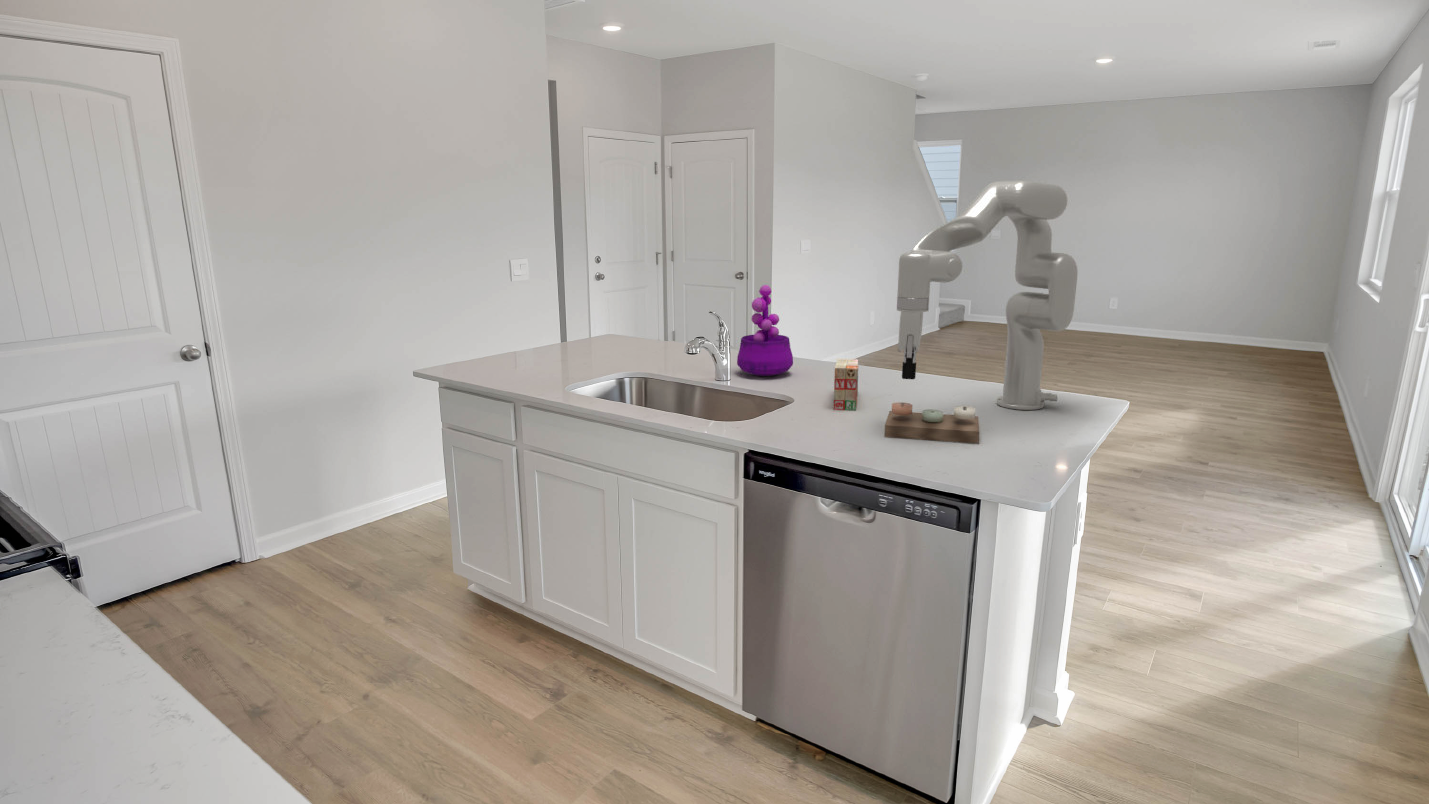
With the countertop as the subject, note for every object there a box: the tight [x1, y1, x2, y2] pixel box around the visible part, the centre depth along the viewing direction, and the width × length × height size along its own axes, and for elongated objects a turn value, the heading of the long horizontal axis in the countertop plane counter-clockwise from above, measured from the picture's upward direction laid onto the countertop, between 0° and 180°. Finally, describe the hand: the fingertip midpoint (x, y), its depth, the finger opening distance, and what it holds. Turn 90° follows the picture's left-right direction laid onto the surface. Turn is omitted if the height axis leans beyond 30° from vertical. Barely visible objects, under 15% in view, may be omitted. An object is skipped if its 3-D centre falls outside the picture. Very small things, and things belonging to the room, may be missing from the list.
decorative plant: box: [736, 284, 794, 377], centre depth 259 cm, size 19×19×30 cm
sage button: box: [921, 408, 944, 422], centre depth 194 cm, size 5×5×2 cm
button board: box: [883, 410, 980, 444], centre depth 195 cm, size 22×14×3 cm, turn 73°
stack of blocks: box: [833, 358, 859, 412], centre depth 225 cm, size 21×6×12 cm, turn 169°
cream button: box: [953, 405, 976, 419], centre depth 191 cm, size 5×5×2 cm
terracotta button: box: [891, 401, 913, 415], centre depth 196 cm, size 5×5×2 cm
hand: (908, 378), depth 193 cm, fingers closed
